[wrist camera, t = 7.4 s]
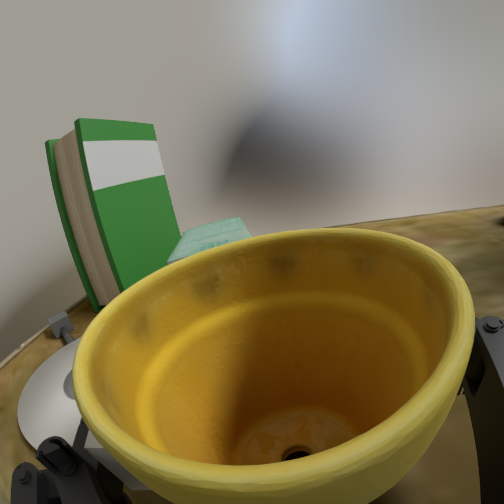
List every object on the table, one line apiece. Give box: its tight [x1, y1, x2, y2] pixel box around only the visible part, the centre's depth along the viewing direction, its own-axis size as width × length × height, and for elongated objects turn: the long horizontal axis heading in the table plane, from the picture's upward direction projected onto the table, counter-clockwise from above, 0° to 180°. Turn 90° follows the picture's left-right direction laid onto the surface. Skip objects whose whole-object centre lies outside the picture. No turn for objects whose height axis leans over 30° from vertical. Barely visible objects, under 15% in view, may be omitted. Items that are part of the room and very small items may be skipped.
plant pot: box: [72, 228, 475, 504], centre depth 8 cm, size 10×10×10 cm
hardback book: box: [45, 118, 181, 312], centre depth 36 cm, size 18×7×24 cm, turn 169°
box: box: [167, 217, 251, 265], centre depth 28 cm, size 7×14×8 cm, turn 8°
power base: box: [17, 310, 82, 450], centre depth 20 cm, size 26×17×2 cm, turn 50°
